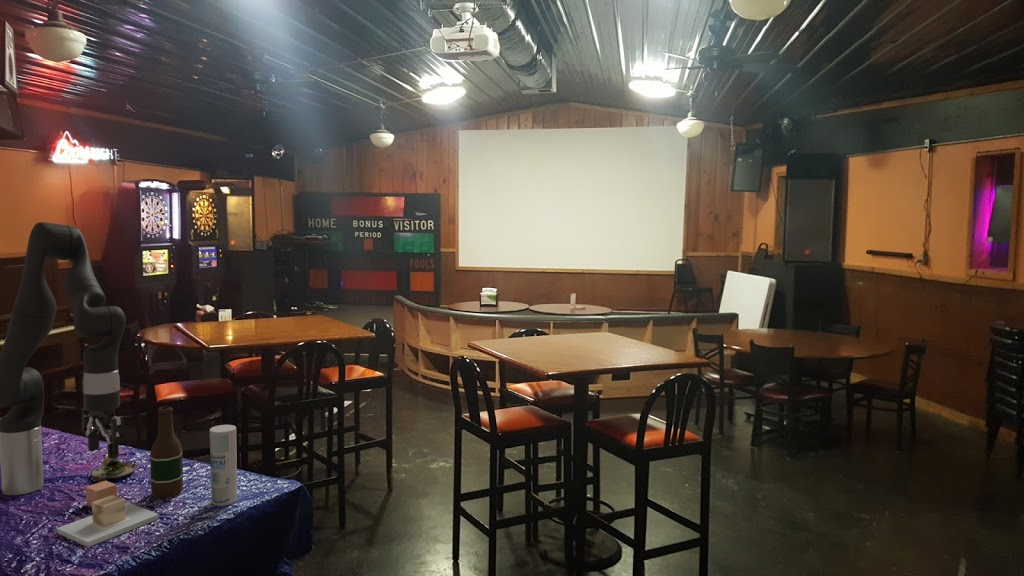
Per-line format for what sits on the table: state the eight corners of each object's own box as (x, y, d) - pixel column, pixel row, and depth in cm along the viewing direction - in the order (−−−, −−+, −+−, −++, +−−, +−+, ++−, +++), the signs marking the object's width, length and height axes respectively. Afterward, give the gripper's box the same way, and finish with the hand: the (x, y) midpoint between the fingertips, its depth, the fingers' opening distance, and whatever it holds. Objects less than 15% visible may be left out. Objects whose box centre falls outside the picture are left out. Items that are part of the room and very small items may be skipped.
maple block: (92, 522, 160) (91, 502, 159) (113, 514, 164) (112, 495, 164) (104, 527, 157) (103, 507, 157) (125, 519, 162) (124, 499, 161)
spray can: (242, 497, 179) (241, 425, 177) (227, 507, 173) (226, 433, 171) (221, 494, 180) (219, 423, 178) (205, 504, 174) (204, 430, 172)
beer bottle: (169, 500, 176) (167, 413, 173) (144, 497, 177) (141, 410, 175) (189, 489, 183) (187, 405, 181) (165, 486, 185) (162, 402, 182)
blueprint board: (57, 532, 157) (57, 527, 157) (128, 506, 171) (128, 502, 171) (87, 547, 150) (87, 541, 150) (158, 518, 165) (158, 513, 165)
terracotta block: (86, 505, 172) (85, 486, 171) (106, 498, 176) (105, 480, 176) (97, 509, 170) (96, 491, 169) (117, 502, 174) (116, 484, 173)
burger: (103, 486, 184) (102, 460, 184) (82, 477, 190) (81, 452, 190) (146, 473, 194) (145, 448, 194) (124, 464, 201) (123, 440, 200)
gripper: (134, 390, 158) (135, 455, 160) (101, 381, 166) (102, 443, 167) (102, 397, 152) (103, 465, 154) (69, 387, 159) (71, 452, 161)
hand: (103, 453), depth 160 cm, fingers open, 8 cm apart
